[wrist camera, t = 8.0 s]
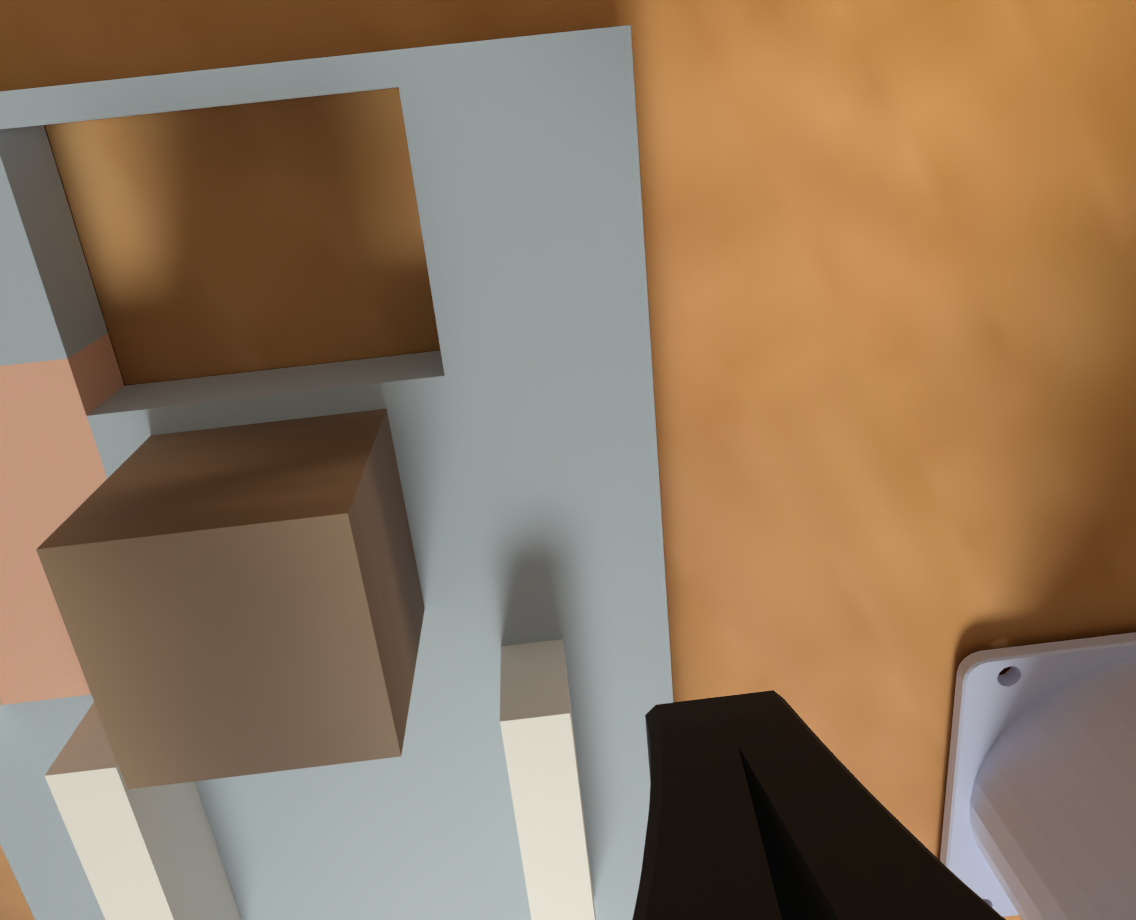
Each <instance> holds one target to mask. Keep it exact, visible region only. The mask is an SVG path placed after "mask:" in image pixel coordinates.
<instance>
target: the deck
mask: <svg viewBox="0 0 1136 920" xmlns="http://www.w3.org/2000/svg"><path fill="white" fill-rule="evenodd" d="M398 87H399V93H400V99H401V105H402V112H403V118H404V124H405V130H406V137H407V143H408V149H409V156H410V162H411V168H412V174H413V181H414V187H415V193H416V199H417V206H418V212H419V218H420V225H421V231H422V237H423V243H424V250H425V256H426V262H427V268H428V275H429V281H430V287H431V294H432V300H433V306H434V312H435V319H436V325H437V331H438V337H439V344H440V350H441V351H432V352H423V353H414V354H405V355H396V356H387V357H378V358H369V359H360V360H351V361H342V362H333V363H324V364H315V365H306V366H297V367H288V368H279V369H270V370H262V371H253V372H244V373H235V374H226V375H217V376H208V377H199V378H190V379H181V380H172V381H163V382H154V383H145V384H136V385H127V386H124V383H123V380H122V377H121V374H120V370H119V367H118V364H117V361H116V357H115V354H114V351H113V348H112V345H111V341H110V338H109V335H108V332H107V328H106V325H105V322H104V319H103V315H102V312H101V309H100V306H99V302H98V299H97V296H96V293H95V290H94V286H93V283H92V280H91V277H90V273H89V270H88V267H87V264H86V260H85V257H84V254H83V251H82V247H81V244H80V241H79V238H78V235H77V231H76V228H75V225H74V222H73V218H72V215H71V212H70V209H69V205H68V202H67V199H66V196H65V192H64V189H63V186H62V183H61V180H60V176H59V173H58V170H57V167H56V163H55V160H54V157H53V154H52V150H51V147H50V144H49V141H48V137H47V134H46V131H45V128H44V125H50V124H60V123H69V122H78V121H88V120H97V119H107V118H116V117H126V116H135V115H144V114H154V113H163V112H173V111H182V110H191V109H201V108H210V107H220V106H229V105H238V104H248V103H257V102H267V101H276V100H285V99H295V98H304V97H314V96H323V95H333V94H342V93H351V92H361V91H370V90H380V89H389V88H398ZM378 409H387V413H388V418H389V424H390V429H391V434H392V439H393V445H394V450H395V455H396V460H397V466H398V471H399V476H400V481H401V486H402V492H403V497H404V502H405V507H406V513H407V518H408V523H409V528H410V534H411V539H412V544H413V549H414V555H415V560H416V565H417V570H418V575H419V581H420V586H421V591H422V596H423V602H424V607H425V610H424V616H423V623H422V629H421V635H420V642H419V648H418V654H417V660H416V667H415V673H414V679H413V686H412V692H411V698H410V705H409V711H408V717H407V723H406V730H405V736H404V742H403V749H402V755H401V757H393V758H384V759H376V760H368V761H360V762H351V763H343V764H335V765H327V766H318V767H310V768H302V769H293V770H285V771H277V772H269V773H260V774H252V775H244V776H236V777H227V778H219V779H211V780H203V781H194V782H186V783H178V784H170V785H161V786H153V787H145V788H136V789H127V787H126V784H125V781H124V779H123V776H122V774H121V771H120V768H119V766H118V763H117V761H116V758H115V755H114V753H113V750H112V747H111V745H110V742H109V740H108V737H107V734H106V732H105V729H104V726H103V724H102V721H101V719H100V716H99V713H98V711H97V708H96V705H95V703H94V700H93V698H92V695H91V692H90V690H89V687H88V684H87V682H86V679H85V677H84V674H83V671H82V669H81V666H80V663H79V661H78V658H77V656H76V653H75V650H74V648H73V645H72V642H71V640H70V637H69V635H68V632H67V629H66V627H65V624H64V621H63V619H62V616H61V614H60V611H59V608H58V606H57V603H56V600H55V598H54V595H53V593H52V590H51V587H50V585H49V582H48V579H47V577H46V574H45V572H44V569H43V566H42V564H41V561H40V558H39V556H38V553H37V551H36V549H37V548H38V547H39V546H40V545H41V544H42V543H43V542H44V541H45V540H46V539H47V538H48V537H49V536H50V535H51V534H52V533H53V532H54V531H55V530H56V529H57V528H58V527H59V526H60V525H61V524H62V523H63V522H64V521H65V520H66V519H67V518H68V517H69V516H70V515H71V514H72V513H73V512H74V511H75V510H76V509H77V508H78V507H79V506H80V505H81V504H82V503H83V502H84V501H85V500H86V499H87V498H88V497H89V496H90V495H91V494H92V493H93V492H94V491H95V490H96V489H97V488H98V487H99V486H100V485H101V484H102V483H103V482H104V481H105V480H106V479H108V478H109V477H110V476H111V475H112V474H113V473H114V472H115V471H116V470H117V469H118V468H119V467H120V466H121V465H122V464H123V463H124V462H125V461H126V460H127V459H128V458H129V457H130V456H131V455H132V454H133V453H134V452H135V451H136V450H137V449H138V448H139V447H140V446H141V445H142V444H143V443H144V442H145V441H146V440H147V439H148V438H149V437H150V436H151V435H159V434H168V433H177V432H186V431H194V430H203V429H212V428H221V427H229V426H238V425H247V424H256V423H264V422H273V421H282V420H291V419H299V418H308V417H317V416H326V415H334V414H343V413H352V412H361V411H369V410H378ZM666 703H673V691H672V675H671V659H670V643H669V627H668V611H667V595H666V580H665V564H664V548H663V532H662V516H661V500H660V484H659V468H658V453H657V437H656V421H655V405H654V389H653V373H652V357H651V341H650V326H649V310H648V294H647V278H646V262H645V246H644V230H643V215H642V199H641V183H640V167H639V151H638V135H637V119H636V103H635V88H634V72H633V56H632V40H631V25H626V26H616V27H607V28H597V29H588V30H578V31H569V32H559V33H550V34H540V35H531V36H521V37H512V38H502V39H493V40H483V41H474V42H464V43H455V44H446V45H436V46H427V47H417V48H408V49H398V50H389V51H379V52H370V53H360V54H351V55H341V56H332V57H322V58H313V59H303V60H294V61H284V62H275V63H265V64H256V65H247V66H237V67H228V68H218V69H209V70H199V71H190V72H180V73H171V74H161V75H152V76H142V77H133V78H123V79H114V80H104V81H95V82H85V83H76V84H66V85H57V86H48V87H38V88H29V89H19V90H10V91H0V845H1V847H2V850H3V852H4V854H5V856H6V858H7V860H8V862H9V865H10V867H11V869H12V871H13V873H14V875H15V877H16V880H17V882H18V884H19V886H20V888H21V890H22V892H23V895H24V897H25V899H26V901H27V903H28V905H29V907H30V910H31V912H32V914H33V916H34V918H35V920H632V919H633V914H634V909H635V904H636V899H637V894H638V889H639V883H640V877H641V870H642V862H643V854H644V846H645V838H646V830H647V822H648V814H649V802H650V784H651V783H650V770H649V758H648V745H647V732H646V720H645V715H646V714H647V713H648V712H649V711H650V710H651V709H652V708H653V707H654V706H655V705H657V704H666Z"/></svg>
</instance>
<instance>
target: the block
mask: <svg viewBox="0 0 1136 920" xmlns="http://www.w3.org/2000/svg"><path fill="white" fill-rule="evenodd" d="M36 551H37V553H38V556H39V558H40V561H41V564H42V566H43V569H44V572H45V574H46V577H47V579H48V582H49V585H50V587H51V590H52V593H53V595H54V598H55V600H56V603H57V606H58V608H59V611H60V614H61V616H62V619H63V621H64V624H65V627H66V629H67V632H68V635H69V637H70V640H71V642H72V645H73V648H74V650H75V653H76V656H77V658H78V661H79V663H80V666H81V669H82V671H83V674H84V677H85V679H86V682H87V684H88V687H89V690H90V692H91V695H92V698H93V700H94V703H95V705H96V708H97V711H98V713H99V716H100V719H101V721H102V724H103V726H104V729H105V732H106V734H107V737H108V740H109V742H110V745H111V747H112V750H113V753H114V755H115V758H116V761H117V763H118V766H119V768H120V771H121V774H122V776H123V779H124V781H125V784H126V787H127V789H136V788H145V787H153V786H161V785H170V784H178V783H186V782H194V781H203V780H211V779H219V778H227V777H236V776H244V775H252V774H260V773H269V772H277V771H285V770H293V769H302V768H310V767H318V766H327V765H335V764H343V763H351V762H360V761H368V760H376V759H384V758H393V757H401V755H402V749H403V742H404V736H405V730H406V723H407V717H408V711H409V705H410V698H411V692H412V686H413V679H414V673H415V667H416V660H417V654H418V648H419V642H420V635H421V629H422V623H423V616H424V610H425V607H424V602H423V596H422V591H421V586H420V581H419V575H418V570H417V565H416V560H415V555H414V549H413V544H412V539H411V534H410V528H409V523H408V518H407V513H406V507H405V502H404V497H403V492H402V486H401V481H400V476H399V471H398V466H397V460H396V455H395V450H394V445H393V439H392V434H391V429H390V424H389V418H388V413H387V409H378V410H369V411H361V412H352V413H343V414H334V415H326V416H317V417H308V418H299V419H291V420H282V421H273V422H264V423H256V424H247V425H238V426H229V427H221V428H212V429H203V430H194V431H186V432H177V433H168V434H159V435H151V436H150V437H149V438H148V439H147V440H146V441H145V442H144V443H143V444H142V445H141V446H140V447H139V448H138V449H137V450H136V451H135V452H134V453H133V454H132V455H131V456H130V457H129V458H128V459H127V460H126V461H125V462H124V463H123V464H122V465H121V466H120V467H119V468H118V469H117V470H116V471H115V472H114V473H113V474H112V475H111V476H110V477H109V478H108V479H106V480H105V481H104V482H103V483H102V484H101V485H100V486H99V487H98V488H97V489H96V490H95V491H94V492H93V493H92V494H91V495H90V496H89V497H88V498H87V499H86V500H85V501H84V502H83V503H82V504H81V505H80V506H79V507H78V508H77V509H76V510H75V511H74V512H73V513H72V514H71V515H70V516H69V517H68V518H67V519H66V520H65V521H64V522H63V523H62V524H61V525H60V526H59V527H58V528H57V529H56V530H55V531H54V532H53V533H52V534H51V535H50V536H49V537H48V538H47V539H46V540H45V541H44V542H43V543H42V544H41V545H40V546H39V547H38V548H37V549H36Z"/></svg>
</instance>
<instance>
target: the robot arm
mask: <svg viewBox="0 0 1136 920" xmlns="http://www.w3.org/2000/svg"><path fill="white" fill-rule="evenodd" d="M1010 666H1011V668H1010V670H1008V671H1007V672H1006V673H1005V674H1002V675H999V673H1000V672H1001V671H1002V670H1003V669H1004V668H1007V667H1010ZM645 720H646V732H647V745H648V758H649V770H650V783H651V784H650V802H649V814H648V822H647V830H646V838H645V846H644V854H643V862H642V870H641V877H640V883H639V889H638V894H637V899H636V904H635V909H634V914H633V919H632V920H1005V919H1004V918H1003V917H1006V916H1014V915H1020V917H1021V919H1022V920H1136V632H1134V633H1125V634H1117V635H1109V636H1100V637H1092V638H1083V639H1075V640H1067V641H1058V642H1050V643H1041V644H1033V645H1024V646H1016V647H1008V648H999V649H991V650H982V651H978V652H975V653H972V654H970V655H969V656H967V657H966V658H964V659H963V661H962V662H961V663H960V664H959V667H958V670H957V676H956V687H955V698H954V709H953V720H952V731H951V742H950V753H949V765H948V776H947V787H946V798H945V809H944V820H943V831H942V842H941V853H940V860H939V859H938V858H936V857H935V856H934V855H933V854H932V853H931V852H930V851H929V850H928V849H927V848H926V847H925V846H924V845H923V844H922V843H921V842H920V841H919V840H918V839H917V838H916V837H915V836H914V835H913V834H912V833H911V832H910V831H909V830H907V829H906V828H905V827H904V826H903V825H902V824H901V823H900V822H899V821H898V820H897V819H896V818H895V817H894V816H893V815H892V814H891V813H890V812H889V811H888V810H887V809H886V808H885V807H884V806H883V805H882V804H881V803H880V802H879V801H878V800H877V799H876V798H875V797H874V796H873V795H872V794H871V793H870V792H869V791H868V790H867V789H866V788H865V787H864V786H863V785H862V784H861V783H860V782H859V781H858V780H857V779H856V778H855V777H854V775H853V774H852V773H851V772H850V771H849V770H848V769H847V768H846V767H845V766H844V765H843V764H842V763H841V762H840V761H839V760H838V759H837V758H836V756H835V755H834V754H833V753H832V752H831V751H830V750H829V749H828V748H827V747H826V746H825V745H824V743H823V742H822V741H821V740H820V739H819V738H818V737H817V736H816V735H815V734H814V732H813V731H812V730H811V729H810V728H809V727H808V726H807V725H806V724H805V722H804V721H803V720H802V719H801V718H800V717H799V716H798V714H797V713H796V712H795V711H794V710H793V709H792V708H791V706H790V705H789V704H788V703H787V702H786V701H785V700H784V699H783V698H782V697H781V696H780V695H778V694H777V693H776V692H775V691H765V692H757V693H749V694H740V695H732V696H724V697H715V698H707V699H699V700H691V701H682V702H674V703H666V704H657V705H655V706H654V707H653V708H652V709H651V710H650V711H649V712H648V713H647V714H646V715H645Z"/></svg>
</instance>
